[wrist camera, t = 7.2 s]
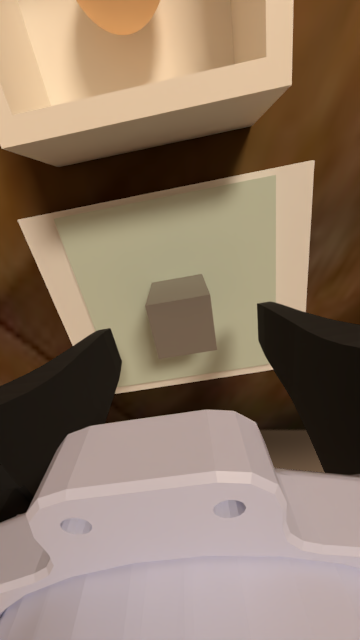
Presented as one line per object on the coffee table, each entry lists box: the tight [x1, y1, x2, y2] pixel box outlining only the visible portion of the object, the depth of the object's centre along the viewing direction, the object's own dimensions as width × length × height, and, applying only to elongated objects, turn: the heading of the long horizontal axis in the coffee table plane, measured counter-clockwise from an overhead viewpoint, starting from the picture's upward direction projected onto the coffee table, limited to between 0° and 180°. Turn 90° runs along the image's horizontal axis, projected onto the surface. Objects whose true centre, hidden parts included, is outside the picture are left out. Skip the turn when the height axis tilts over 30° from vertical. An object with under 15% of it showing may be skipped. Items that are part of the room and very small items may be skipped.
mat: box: [18, 160, 314, 394], centre depth 16 cm, size 16×13×1 cm
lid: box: [54, 175, 276, 387], centre depth 13 cm, size 12×12×4 cm
